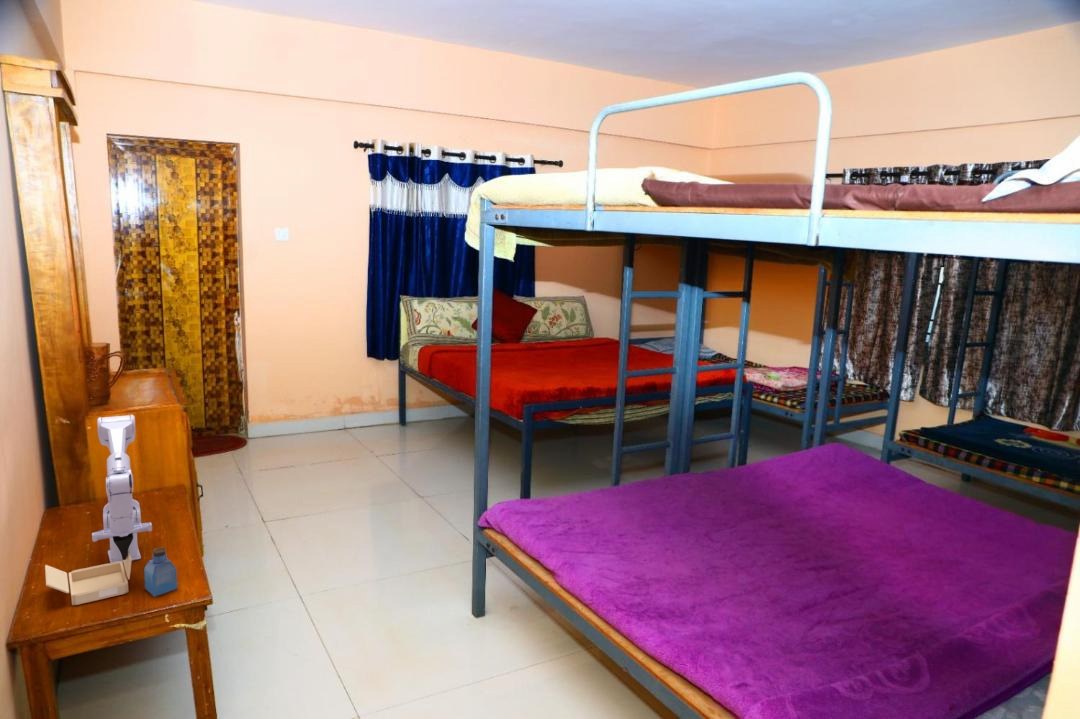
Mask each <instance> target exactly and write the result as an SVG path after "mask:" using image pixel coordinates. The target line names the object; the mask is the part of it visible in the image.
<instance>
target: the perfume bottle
mask: <svg viewBox="0 0 1080 719" xmlns="http://www.w3.org/2000/svg"><path fill="white" fill-rule="evenodd" d="M143 571H144V572H143V574H144V589H145V590H146V591H148V593H150V595H152V596H153V597H154V598H155V597H158V596H160V595H164V594H166V593H169V592H171V591H175V590H177V589H178V579H177V578H178V573H177V567H176V566H175V565H174V564H173V563H172V561H171V560H170V559H168V558H167V552H166V548H165V547H164V546H163V547H162V546H161V547H160V546H159V547H157V548H154V549H153V550H152V559H151V560H150V559H149V561H147V564H146V565H145V567H144V568H143Z"/></svg>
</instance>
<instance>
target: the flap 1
mask: <svg viewBox="0 0 1080 719" xmlns="http://www.w3.org/2000/svg"><path fill="white" fill-rule="evenodd" d="M44 570H45V575H44V576H45V586H46V587H49V588H52V589H54V590H57V591H60V592H63V593H64V594H65V593H66V594H69V593H70V585H69V577H68V573H67V572H65V571H63V570H60V569H58V568H56V567H53V566H50V565H48V564H45V565H44Z"/></svg>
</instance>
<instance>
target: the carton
mask: <svg viewBox="0 0 1080 719" xmlns="http://www.w3.org/2000/svg"><path fill="white" fill-rule="evenodd" d="M68 585H69V593H70V598H71V605H72V606H78V605H82V604H86V603H91V602H96V601H99V600H104V599H108V598H111V597H116V596H120V595H125V594H128V593H129V582H128V578H127V574H126V570H125V567H124V563H123V562H119V561H118V562H113V563H110V562H109V563H104V564H100V565H99V564H98V565H93V566H89V567H86V568H79V569H74V570H71V572H68Z"/></svg>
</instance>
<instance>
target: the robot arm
mask: <svg viewBox="0 0 1080 719" xmlns="http://www.w3.org/2000/svg"><path fill="white" fill-rule="evenodd" d="M135 418H136V417H135V415H133V414H130V415H129V414H128V415H117V416H104V417H102V416H99V417H98V418H97V421H96V422H97V436H98V441H99V442H100V445H102V446H105V447H107V448H108V451H109V452H110V454H109V456H108V457H107V459H106V472H107V473H106V474H107V475H106V477H105V491H106V495H107V503H106V504H105V505H104V507H103V509H102V511H103V512H102V521H103V529H101V530H98V531H95V532H92V533H91V538H92V542H93V543H95V542H98V541H99V540H106V539H109V549H108V550H107V555H108V558H109V559H108V560H109V563H113V562H118V561H119V562H122V563H123V560H126V557H127V552H128V549H129V552H130V555H131V558H132V561H136V560H141V558H142V556H141V553H140V550H139V545H138V533H142V532H152V531H153V525H152V522H151V521H150V522H144V523H143V522H142V516H141V507H140V503H139V501H138V500H136V499H134V498H133V492H134V474H133V473H132V468H131V459H130V456H129V455H128V454H127V449H128V446H129V445H130V444H131V443H133V442H135V439H136V433H137V432H136V419H135Z"/></svg>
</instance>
